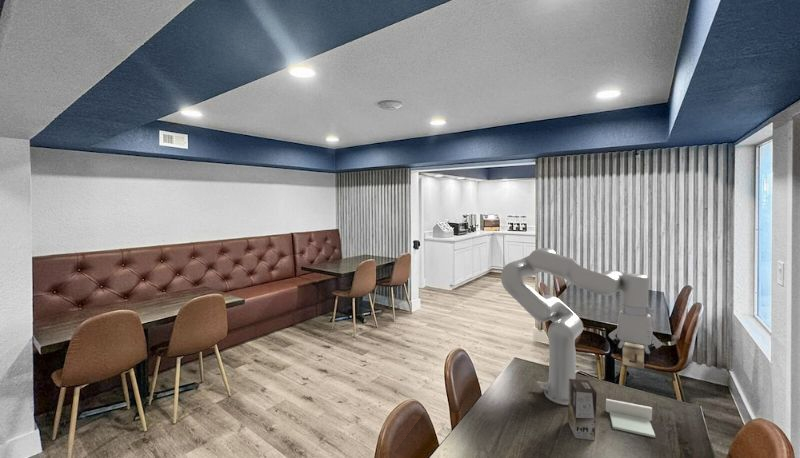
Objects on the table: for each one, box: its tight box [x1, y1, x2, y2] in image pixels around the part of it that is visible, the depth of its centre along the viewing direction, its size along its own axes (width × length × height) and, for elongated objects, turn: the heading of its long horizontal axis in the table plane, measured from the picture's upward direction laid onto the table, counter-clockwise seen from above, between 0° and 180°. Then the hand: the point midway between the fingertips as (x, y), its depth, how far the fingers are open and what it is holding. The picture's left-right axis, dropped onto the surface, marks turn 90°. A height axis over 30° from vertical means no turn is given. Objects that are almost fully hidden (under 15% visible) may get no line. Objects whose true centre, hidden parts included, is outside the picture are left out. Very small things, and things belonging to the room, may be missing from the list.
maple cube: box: [621, 342, 645, 370], centre depth 122 cm, size 6×6×6 cm
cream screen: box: [605, 398, 653, 422], centre depth 127 cm, size 14×1×4 cm, turn 66°
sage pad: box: [609, 412, 656, 438], centre depth 122 cm, size 12×9×1 cm
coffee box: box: [567, 378, 598, 441], centre depth 119 cm, size 9×6×16 cm
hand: (633, 360), depth 122 cm, fingers closed on maple cube, 6 cm apart
